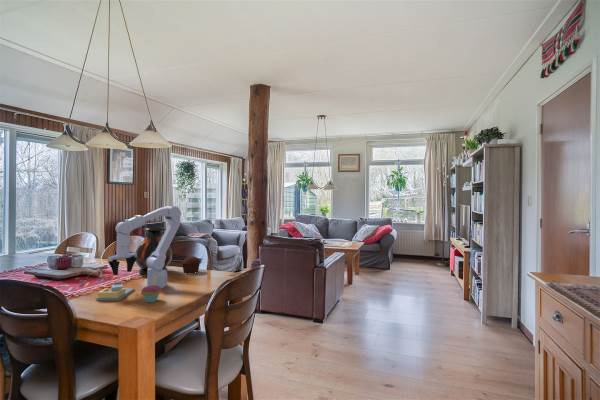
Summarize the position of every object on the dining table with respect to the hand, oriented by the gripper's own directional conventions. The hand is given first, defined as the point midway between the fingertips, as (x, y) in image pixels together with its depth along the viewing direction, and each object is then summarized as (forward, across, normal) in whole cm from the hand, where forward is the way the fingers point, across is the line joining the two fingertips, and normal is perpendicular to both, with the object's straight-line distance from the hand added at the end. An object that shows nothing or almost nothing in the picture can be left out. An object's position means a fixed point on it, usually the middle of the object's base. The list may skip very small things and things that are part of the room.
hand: (122, 273), depth 157 cm
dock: (+9, +5, +2) cm, 11 cm away
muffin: (+10, -49, 0) cm, 50 cm away
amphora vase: (+10, -38, -20) cm, 44 cm away
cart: (+8, +4, +2) cm, 9 cm away
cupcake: (+10, +3, +23) cm, 25 cm away
